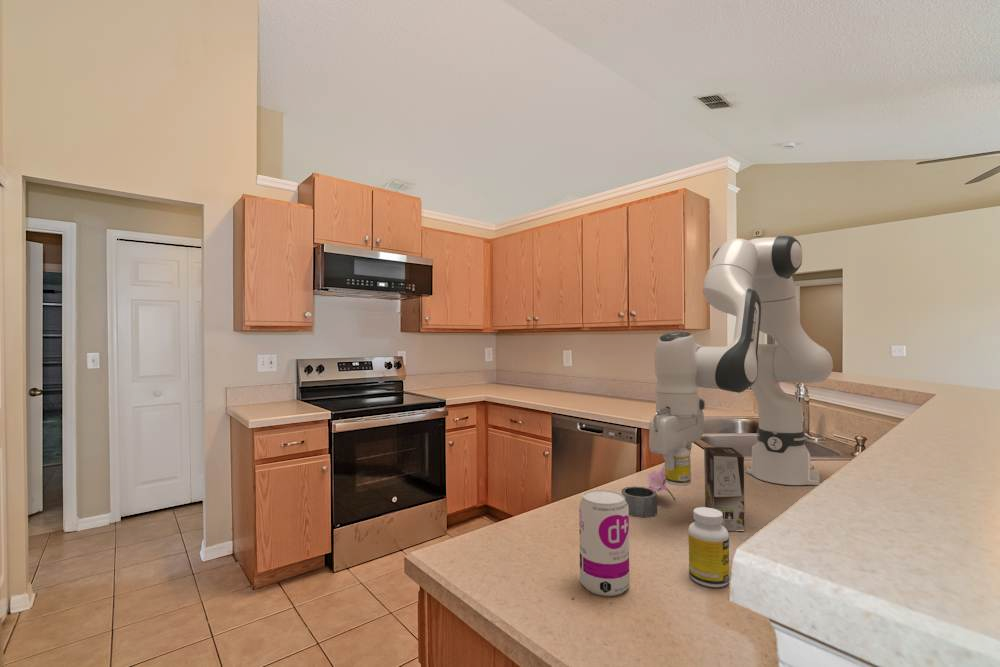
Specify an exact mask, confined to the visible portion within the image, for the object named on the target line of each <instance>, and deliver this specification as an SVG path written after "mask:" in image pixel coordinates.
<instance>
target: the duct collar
mask: <svg viewBox="0 0 1000 667" xmlns="http://www.w3.org/2000/svg"><path fill="white" fill-rule="evenodd" d="M657 492H658V491H657ZM657 492H656V491H654V490H652V489H649V488H648V487H644V486H626V487H624V488H622V489H621V494H622V495H623V496H624V498H625V501H626V502H627V504H628V508H629V516H631V517H636V518H651V517H654V516H656V515H657V514H658V494H657Z"/></svg>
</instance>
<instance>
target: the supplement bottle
mask: <svg viewBox="0 0 1000 667" xmlns="http://www.w3.org/2000/svg"><path fill="white" fill-rule="evenodd" d="M673 458H674V461H676V469H674V470H672V471H671V470H667V469H666V467H665V480H666V484H669V485H673V486H678V487H682V486H683V487H684V486H685V487H686V486H689V485H690V484H691V483H692V476H691V474H692V472H691V470H692V469H691V468H692V467H691V465H692V464H691V451H689V450H688V449H687V448H686V440H685V441H684V445H683V447H681V448H679V449H677V450H674V455H673Z"/></svg>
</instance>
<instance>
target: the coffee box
mask: <svg viewBox="0 0 1000 667" xmlns="http://www.w3.org/2000/svg"><path fill="white" fill-rule="evenodd" d="M703 448H704V450H703V452H704V453H703V457H704V459H703V460H704V464H703V465H704V498H705V499H704V501H705V502H704V504H705V506H704V507H707V508H713V509H716V510H719V511H721V512H722V513H723V522H722V523H721V525H722V526H723V527H725V528H726V530H727V531H728V532H737V531H736V530H744V531H745V456H744V455H742V454H741V453H740V452H738V451H737V450H736V449H734V448H733V447H724V446H720V447H719V446H714V447H710V446H709V447H707V446H705V447H703Z"/></svg>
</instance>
